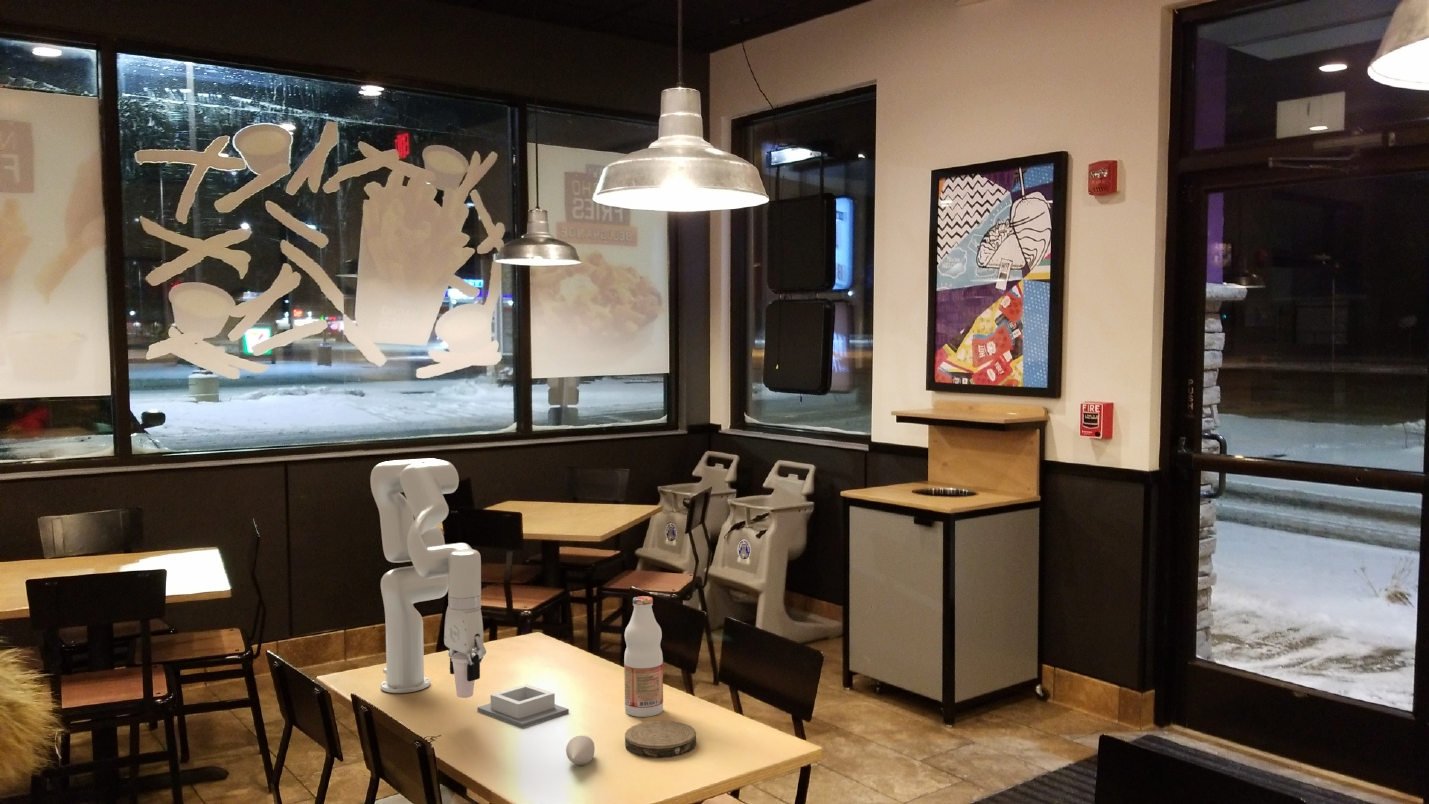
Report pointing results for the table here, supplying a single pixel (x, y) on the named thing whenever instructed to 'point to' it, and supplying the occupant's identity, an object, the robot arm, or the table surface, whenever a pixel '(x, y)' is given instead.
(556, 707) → the cup holder
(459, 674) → the smoothie
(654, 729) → the brown flat round piece
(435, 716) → the table surface
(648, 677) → the fruit juice
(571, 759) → the beige pointed round piece
